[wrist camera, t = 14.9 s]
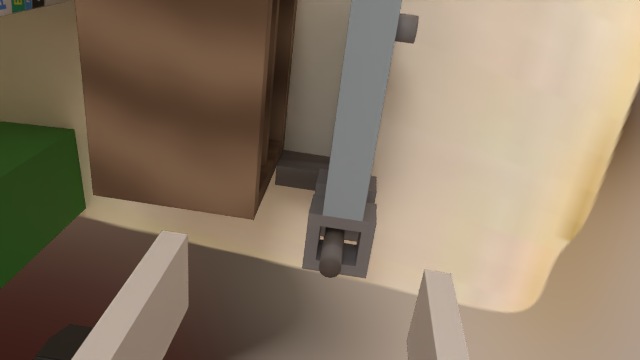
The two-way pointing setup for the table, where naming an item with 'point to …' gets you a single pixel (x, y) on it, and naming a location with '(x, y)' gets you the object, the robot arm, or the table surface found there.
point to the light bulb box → (24, 5)
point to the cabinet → (193, 105)
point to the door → (357, 135)
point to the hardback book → (35, 191)
